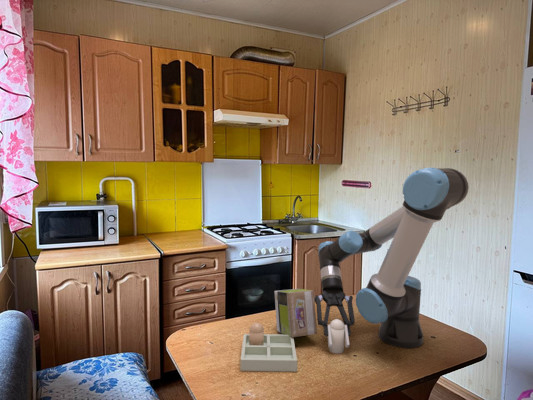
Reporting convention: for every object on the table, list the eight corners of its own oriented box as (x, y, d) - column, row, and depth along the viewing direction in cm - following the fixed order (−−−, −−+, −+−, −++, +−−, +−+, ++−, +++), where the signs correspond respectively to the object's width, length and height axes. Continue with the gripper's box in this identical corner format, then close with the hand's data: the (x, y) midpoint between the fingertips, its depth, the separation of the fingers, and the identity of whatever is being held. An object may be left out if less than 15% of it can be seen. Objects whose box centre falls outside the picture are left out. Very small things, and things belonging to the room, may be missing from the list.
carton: (292, 344, 129) (293, 318, 128) (296, 371, 112) (297, 341, 111) (243, 343, 129) (243, 317, 128) (240, 370, 112) (240, 340, 111)
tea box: (300, 328, 142) (318, 334, 128) (276, 331, 139) (291, 338, 125) (297, 287, 144) (314, 290, 131) (273, 290, 141) (288, 292, 127)
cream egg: (342, 346, 128) (343, 316, 127) (345, 353, 123) (346, 323, 122) (327, 346, 128) (328, 316, 127) (330, 353, 123) (331, 322, 122)
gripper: (354, 286, 139) (363, 350, 125) (306, 285, 139) (310, 349, 124) (358, 276, 134) (369, 342, 119) (308, 275, 133) (312, 341, 119)
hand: (338, 345), depth 122 cm, fingers closed on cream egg, 5 cm apart
